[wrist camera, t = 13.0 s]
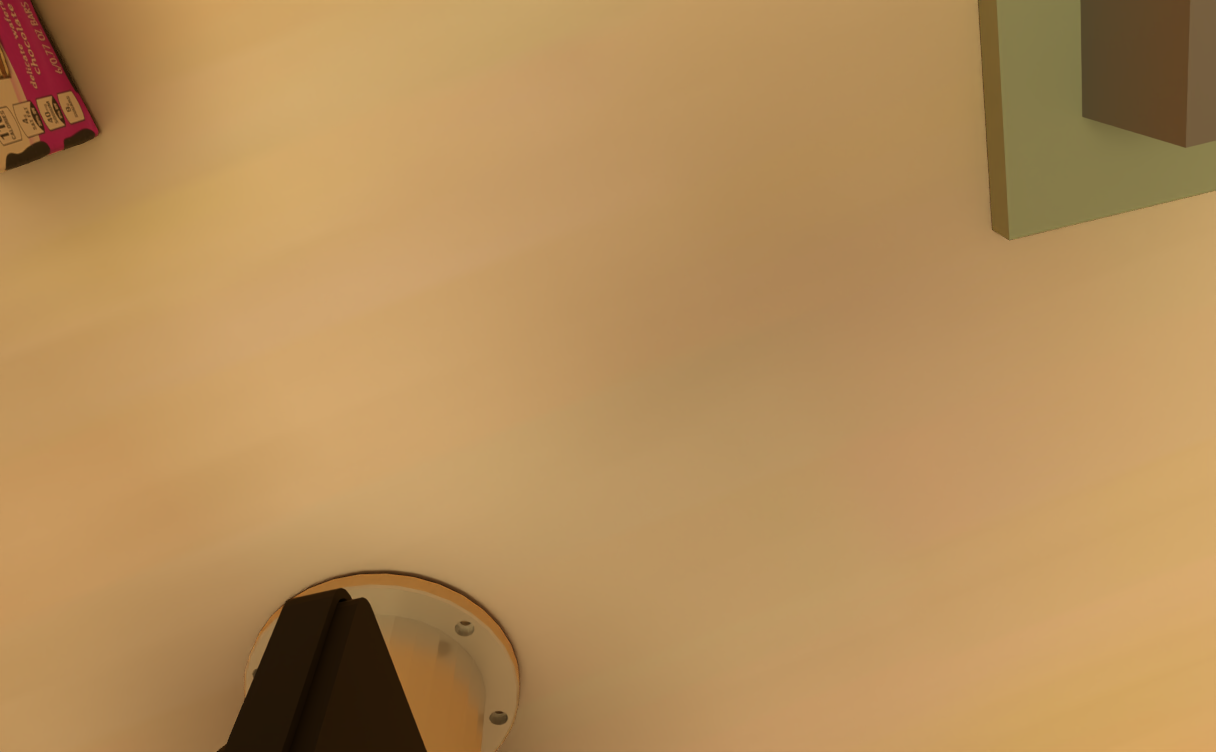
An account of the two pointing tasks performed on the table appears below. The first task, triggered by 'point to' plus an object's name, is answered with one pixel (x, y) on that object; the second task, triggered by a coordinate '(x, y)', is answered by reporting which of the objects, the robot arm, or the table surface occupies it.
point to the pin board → (1064, 130)
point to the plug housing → (1151, 67)
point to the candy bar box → (35, 92)
